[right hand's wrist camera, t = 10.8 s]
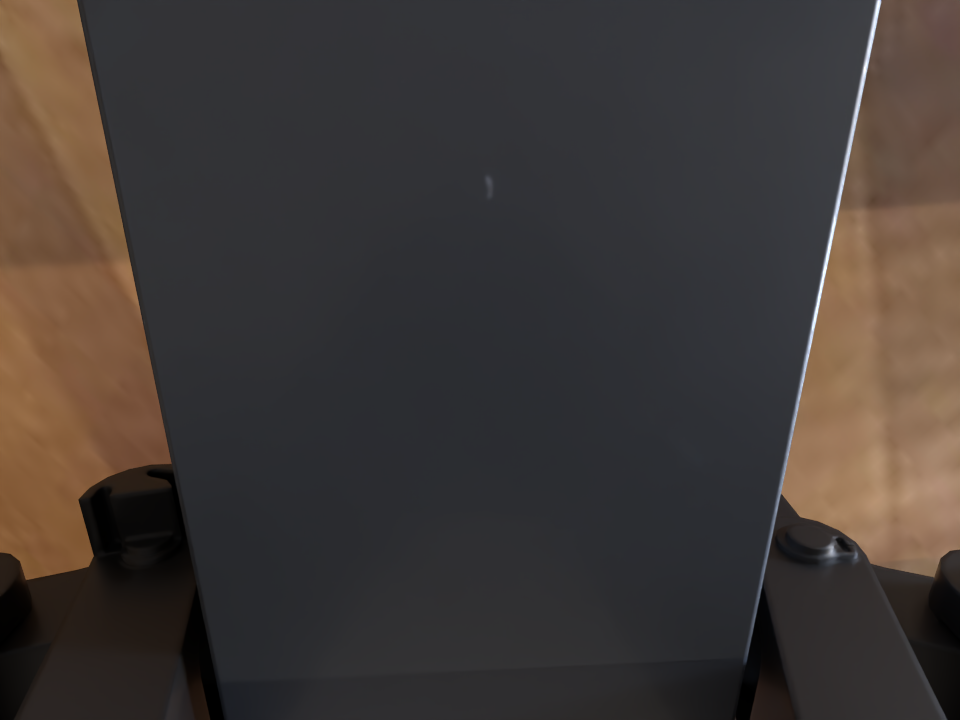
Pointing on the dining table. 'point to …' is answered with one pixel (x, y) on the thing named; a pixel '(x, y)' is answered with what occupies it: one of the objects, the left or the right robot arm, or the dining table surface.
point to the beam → (479, 333)
